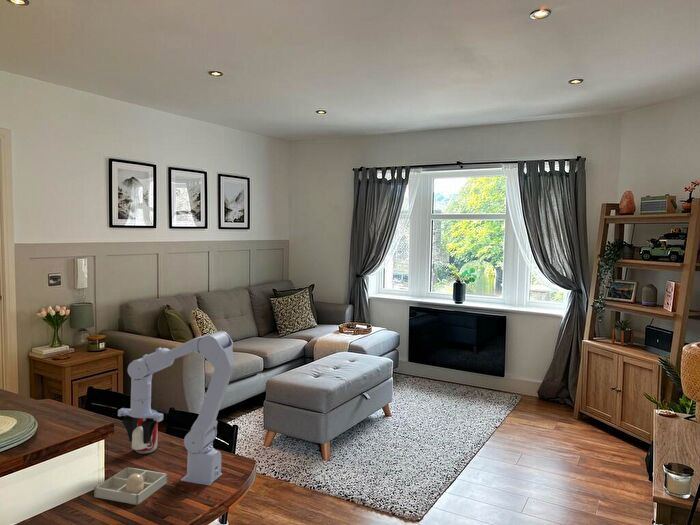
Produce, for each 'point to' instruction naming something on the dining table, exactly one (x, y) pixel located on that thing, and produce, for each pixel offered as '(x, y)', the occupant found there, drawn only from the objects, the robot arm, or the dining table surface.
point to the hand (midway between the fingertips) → (139, 441)
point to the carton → (117, 486)
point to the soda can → (153, 441)
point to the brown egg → (134, 484)
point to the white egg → (138, 439)
